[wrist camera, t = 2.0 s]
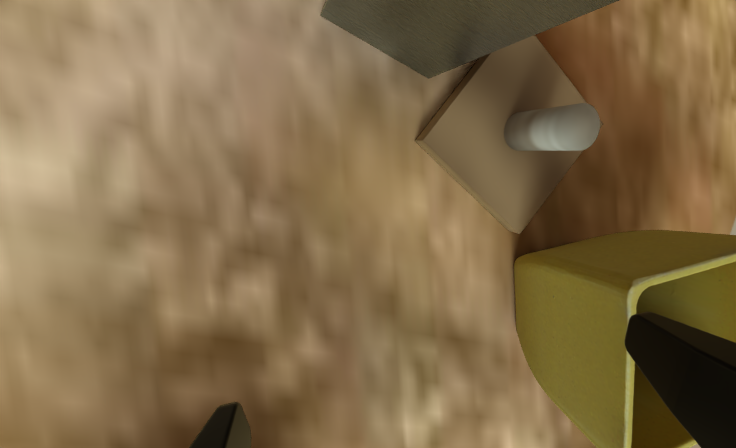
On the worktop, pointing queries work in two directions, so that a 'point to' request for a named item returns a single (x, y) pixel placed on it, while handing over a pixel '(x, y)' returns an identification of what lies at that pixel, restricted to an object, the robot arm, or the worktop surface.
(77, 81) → the worktop surface
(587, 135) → the tan piece
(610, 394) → the flower pot
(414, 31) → the open square box
